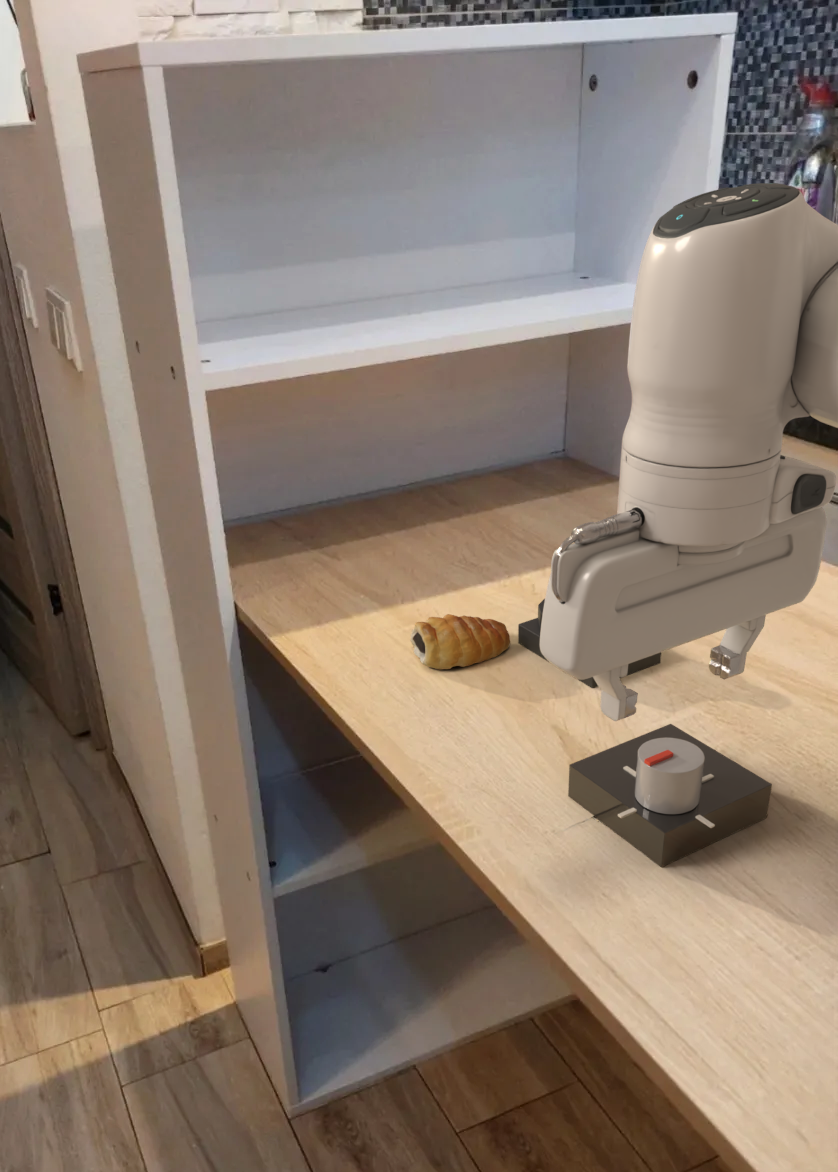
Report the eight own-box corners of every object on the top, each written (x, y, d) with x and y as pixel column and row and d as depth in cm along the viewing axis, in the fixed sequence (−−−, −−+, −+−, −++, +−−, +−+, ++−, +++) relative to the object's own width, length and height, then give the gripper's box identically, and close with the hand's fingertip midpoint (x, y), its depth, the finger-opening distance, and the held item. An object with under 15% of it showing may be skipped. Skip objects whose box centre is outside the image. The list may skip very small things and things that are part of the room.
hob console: (667, 755, 82) (670, 721, 80) (781, 827, 73) (787, 791, 72) (554, 802, 78) (555, 768, 76) (660, 885, 69) (664, 848, 67)
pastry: (494, 629, 103) (494, 595, 101) (521, 659, 98) (522, 623, 96) (405, 647, 101) (403, 612, 99) (428, 678, 96) (426, 642, 94)
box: (582, 621, 103) (583, 585, 101) (660, 663, 95) (664, 625, 93) (517, 643, 100) (517, 606, 98) (592, 689, 92) (594, 650, 90)
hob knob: (668, 771, 75) (672, 727, 73) (713, 800, 71) (719, 755, 70) (621, 791, 73) (624, 746, 71) (665, 822, 70) (669, 776, 68)
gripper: (592, 550, 55) (579, 764, 62) (857, 470, 62) (819, 669, 69) (520, 517, 60) (516, 719, 67) (774, 447, 67) (747, 635, 74)
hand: (673, 693), depth 68 cm, fingers open, 8 cm apart
